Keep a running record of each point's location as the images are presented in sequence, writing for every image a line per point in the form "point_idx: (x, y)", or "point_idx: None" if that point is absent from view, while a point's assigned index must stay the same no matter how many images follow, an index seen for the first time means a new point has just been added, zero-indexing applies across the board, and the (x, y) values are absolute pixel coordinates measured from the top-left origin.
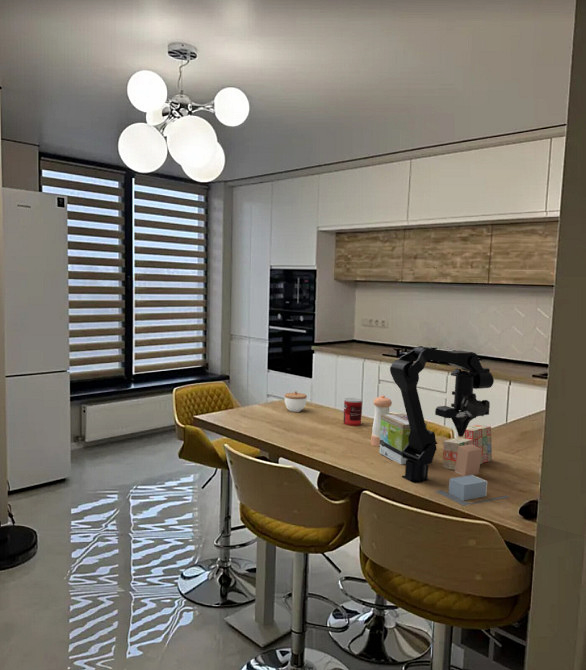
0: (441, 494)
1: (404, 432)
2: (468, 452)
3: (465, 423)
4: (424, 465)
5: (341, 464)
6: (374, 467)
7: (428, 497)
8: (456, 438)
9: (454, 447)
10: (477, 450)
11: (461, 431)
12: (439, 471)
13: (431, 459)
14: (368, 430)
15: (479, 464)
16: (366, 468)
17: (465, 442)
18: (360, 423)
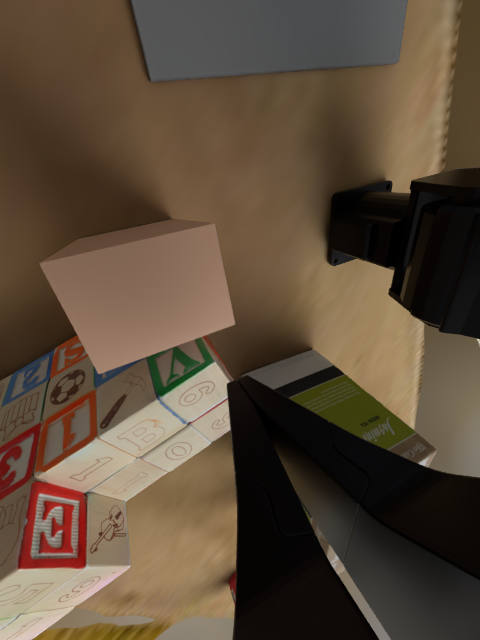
0: (406, 1)
1: (400, 425)
2: (206, 224)
3: (303, 508)
4: (408, 199)
5: (409, 347)
6: (372, 332)
7: (443, 15)
8: (144, 481)
9: (217, 360)
10: (106, 247)
11: (281, 399)
12: (235, 302)
13: (431, 181)
14: (234, 554)
15: (71, 245)
16: (390, 325)
17: (139, 405)
18: (233, 578)
